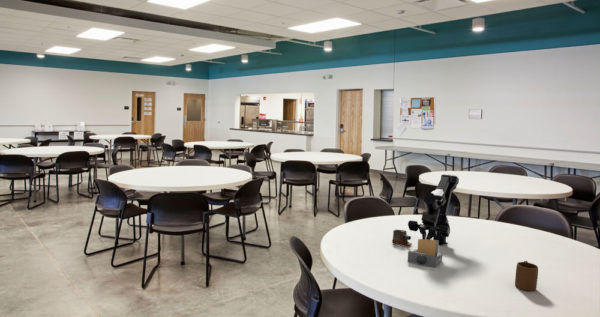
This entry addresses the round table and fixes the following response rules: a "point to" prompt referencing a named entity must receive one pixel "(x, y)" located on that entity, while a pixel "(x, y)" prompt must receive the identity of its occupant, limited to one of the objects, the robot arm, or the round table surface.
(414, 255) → the grey cabinet body
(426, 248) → the side door
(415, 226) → the robot arm
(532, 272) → the mug
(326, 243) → the round table surface
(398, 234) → the electronic device
